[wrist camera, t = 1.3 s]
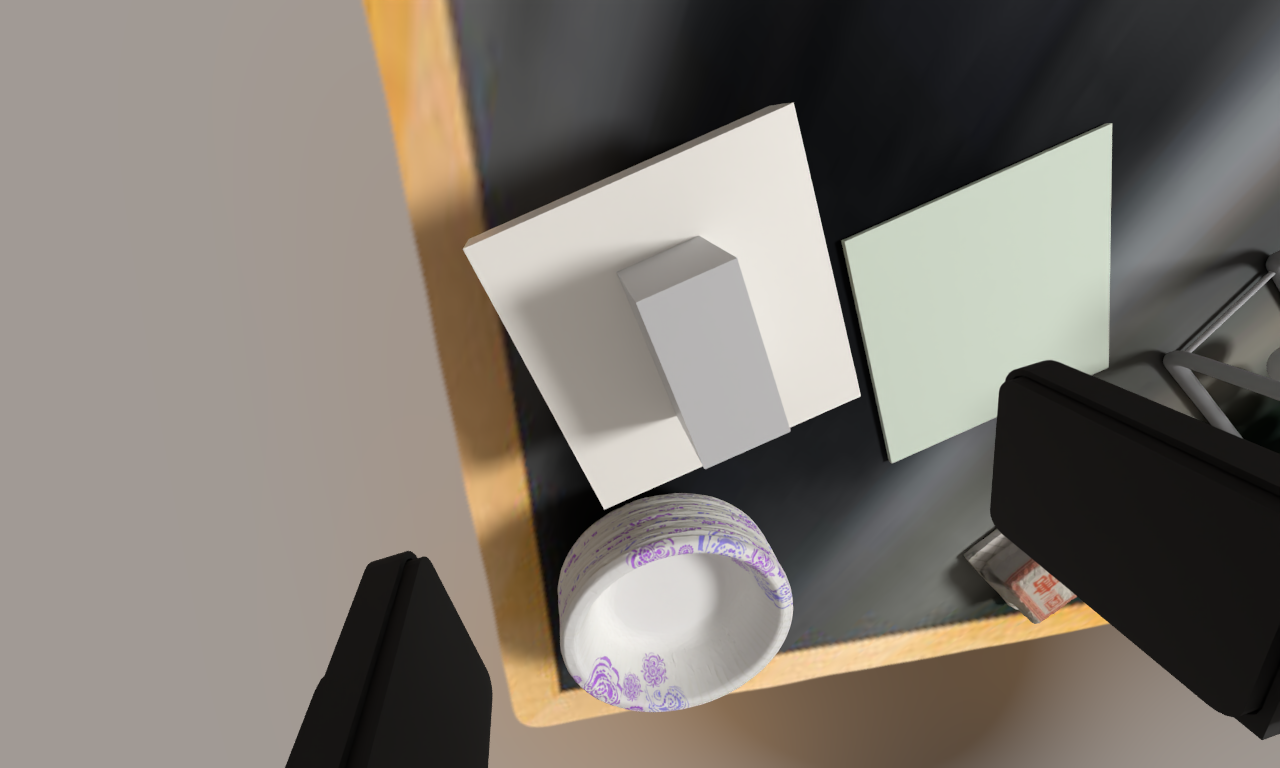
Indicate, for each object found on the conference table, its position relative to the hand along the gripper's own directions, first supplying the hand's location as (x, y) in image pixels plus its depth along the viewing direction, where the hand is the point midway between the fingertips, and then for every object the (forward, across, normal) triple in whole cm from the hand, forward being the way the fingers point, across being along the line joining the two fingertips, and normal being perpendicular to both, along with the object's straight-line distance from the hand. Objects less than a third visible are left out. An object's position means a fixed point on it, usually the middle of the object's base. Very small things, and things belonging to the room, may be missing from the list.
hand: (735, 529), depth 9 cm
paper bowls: (+26, +1, +23) cm, 35 cm away
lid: (+20, -3, +3) cm, 20 cm away
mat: (+25, -26, +11) cm, 38 cm away
